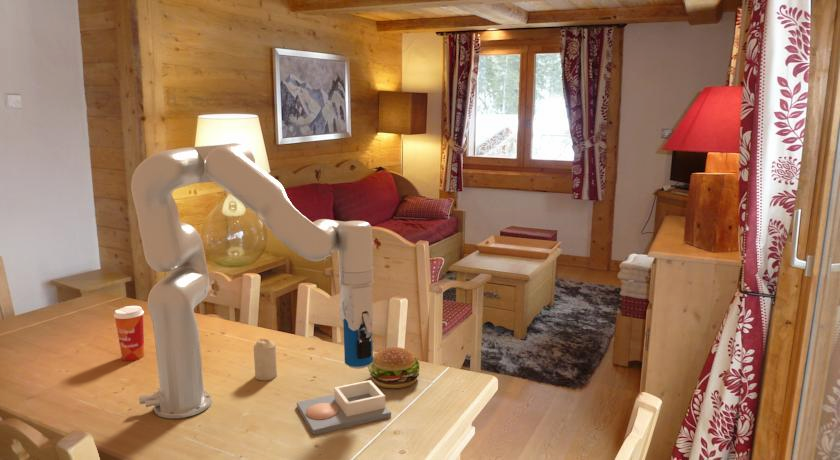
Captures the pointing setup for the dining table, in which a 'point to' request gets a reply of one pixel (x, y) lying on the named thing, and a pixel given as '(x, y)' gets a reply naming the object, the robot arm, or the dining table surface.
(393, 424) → the dining table surface
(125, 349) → the paper cup
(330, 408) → the board
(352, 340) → the beverage can
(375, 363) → the food
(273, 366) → the candle
